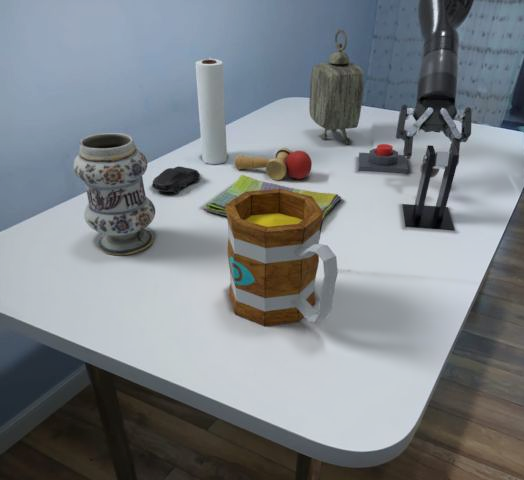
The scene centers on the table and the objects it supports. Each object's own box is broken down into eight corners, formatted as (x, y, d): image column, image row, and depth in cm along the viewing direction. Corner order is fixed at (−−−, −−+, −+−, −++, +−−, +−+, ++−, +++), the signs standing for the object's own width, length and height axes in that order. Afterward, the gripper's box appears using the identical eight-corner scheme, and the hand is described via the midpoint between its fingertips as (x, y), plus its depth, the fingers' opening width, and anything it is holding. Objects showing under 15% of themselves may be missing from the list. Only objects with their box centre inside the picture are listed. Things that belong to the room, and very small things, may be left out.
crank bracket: (401, 209, 101) (415, 139, 92) (446, 212, 100) (465, 142, 91) (404, 232, 93) (419, 158, 84) (453, 236, 92) (474, 161, 83)
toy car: (203, 179, 112) (202, 162, 110) (169, 198, 104) (167, 180, 102) (183, 174, 114) (181, 157, 112) (148, 192, 107) (146, 175, 104)
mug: (211, 293, 78) (204, 203, 68) (280, 267, 84) (283, 180, 74) (287, 362, 66) (292, 264, 56) (361, 326, 72) (377, 232, 62)
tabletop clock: (356, 146, 129) (370, 34, 112) (323, 149, 127) (332, 35, 111) (336, 129, 139) (346, 24, 123) (306, 132, 138) (312, 25, 121)
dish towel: (243, 182, 111) (242, 170, 109) (346, 204, 102) (347, 191, 101) (201, 213, 99) (200, 200, 97) (313, 240, 91) (314, 227, 89)
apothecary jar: (157, 223, 96) (143, 126, 84) (161, 254, 87) (145, 150, 75) (93, 229, 94) (69, 130, 82) (90, 262, 85) (63, 156, 73)
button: (391, 152, 116) (392, 144, 114) (391, 157, 113) (393, 149, 112) (375, 151, 116) (376, 143, 115) (376, 156, 113) (377, 148, 112)
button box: (403, 164, 120) (407, 147, 117) (406, 178, 113) (409, 161, 110) (358, 161, 121) (360, 144, 118) (357, 175, 114) (359, 158, 111)
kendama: (231, 181, 114) (305, 182, 108) (229, 152, 111) (305, 151, 105) (245, 175, 121) (316, 175, 114) (243, 147, 118) (315, 146, 111)
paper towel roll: (217, 166, 118) (212, 65, 104) (197, 161, 120) (189, 62, 106) (234, 157, 123) (231, 59, 108) (214, 152, 125) (209, 56, 111)
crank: (417, 178, 101) (420, 159, 100) (436, 179, 100) (438, 161, 99) (430, 169, 88) (433, 147, 87) (451, 170, 87) (454, 148, 87)
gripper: (404, 68, 97) (397, 148, 96) (479, 71, 96) (473, 151, 95) (398, 91, 105) (391, 165, 104) (467, 94, 103) (461, 169, 102)
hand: (430, 158), depth 99 cm, fingers open, 8 cm apart
